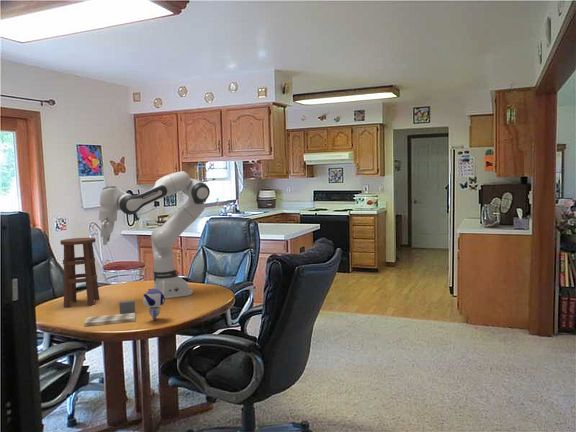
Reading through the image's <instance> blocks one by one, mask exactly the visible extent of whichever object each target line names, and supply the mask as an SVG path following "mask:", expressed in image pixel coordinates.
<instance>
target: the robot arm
mask: <svg viewBox="0 0 576 432" xmlns="http://www.w3.org/2000/svg"><path fill="white" fill-rule="evenodd" d="M179 192H183V194H185V196H187V201H185V203H184V204H182V205H181V206H180V207H179V208H178V209H177V210H176V211H175V212H174V213H172V214H171V216H170V217H169V218H168V219H167V220H166V222H164V223H163V224H162V225H161V226H160V225H159V226H156V227H155V228H153V230H152V232H151V235H150V237H151V238H150V239H151V247H152V248H151V249H152V256H153V257H152V259H153V281H154V283H153V289H158V290H160V291H161V292H162V293H163V295H164V297H165V300H166V299H171V298H179V297H185V296H187V297H188V296H191V295H193V293H194V292H193V289H191V288H190V286H189V283H188V282H187V281H186V280H185V279H183V278H182V277H180V276H179V274H180V273H179V272H180V271H178V270H177V269H175V260H174V256H175V255H174V252H173V244H174V242H176V240H177V239H179V237H180V236H181V235H182V234H183V232H184V231H185V230H186V229H187V228H188V227H189V226H190V225H191V224H193V223H194V222H195V221H196V220H197V219H198V218H199V217H200V216H201V214H203V212H204V210H205V209H206V205H205V203H206V201H207V200H208V198H209V196H210V193H211V191H210V187H209V186H208V185H207V184H206V183H204V182H203V181H202V180H199V179H196V178H194V177H190V175H189V174H188V173H187V172H186V171H182V170H181V171H175V172H172V173H169V174H166V175H165V176H162V177H160V178H159V179H157V180H156V181H155V183H154V186H153V187H152V188H150V189H148V190H146V191H144V192H141V193H139V194H135V195H134V194H133V195H132V194H131V193H127V192H125V191H124V190H121V189H120V188H119V187H117V186H115V185H113V186H112V185H111V186H110V185H109V186H105V187H103V188H101V192H100V197H99V205H100V207H99V213H98V220H99V221H100V223H101V226H100V227H101V228H100V237H101V238H102V245H103V246H105V245H106V246H107V245H108V242H110V241H111V239H110V238H111V235H112V233H113V231H114V228H115V222H116V221H117V220H118V211H121V212H123V213H124V214H125V215H129V216H131V215H135V214H136V213H138V212H139V211H140V210H141V209H142V208H143V207H145V206H147V205H149V204H151V203H153V202H155V201H157V200H159V199H163V198H166V197H170V196H173V195H175V194H178V193H179Z"/></svg>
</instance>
